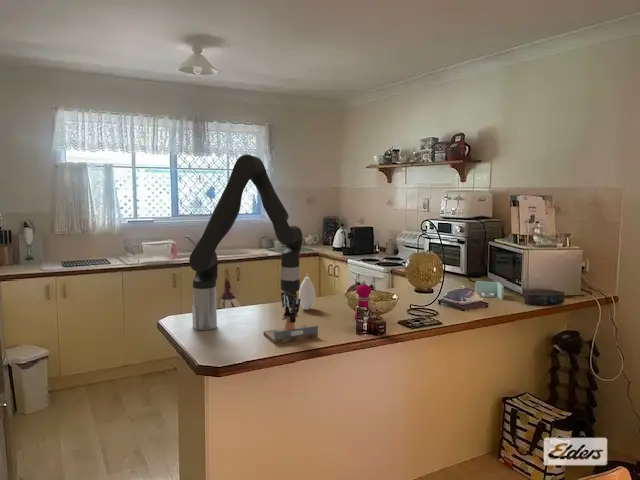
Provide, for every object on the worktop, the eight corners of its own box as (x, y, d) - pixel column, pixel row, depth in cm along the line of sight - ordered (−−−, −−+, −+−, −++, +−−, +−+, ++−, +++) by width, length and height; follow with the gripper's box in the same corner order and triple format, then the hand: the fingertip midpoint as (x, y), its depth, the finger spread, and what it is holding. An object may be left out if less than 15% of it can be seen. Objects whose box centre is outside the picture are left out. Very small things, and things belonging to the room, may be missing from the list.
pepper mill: (353, 325, 204) (353, 279, 202) (370, 325, 205) (370, 278, 202) (355, 331, 197) (356, 282, 194) (373, 330, 197) (374, 282, 195)
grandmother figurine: (287, 334, 186) (288, 302, 185) (280, 333, 188) (281, 300, 187) (300, 331, 192) (301, 299, 191) (292, 329, 194) (293, 298, 194)
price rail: (274, 340, 181) (274, 332, 180) (274, 339, 181) (274, 331, 181) (318, 333, 189) (318, 326, 188) (317, 333, 189) (317, 325, 189)
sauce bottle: (315, 311, 226) (315, 273, 224) (298, 311, 226) (298, 273, 224) (315, 307, 234) (315, 270, 231) (299, 307, 234) (299, 270, 232)
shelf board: (274, 344, 181) (274, 340, 181) (263, 334, 191) (263, 331, 191) (317, 337, 189) (317, 333, 189) (304, 328, 200) (304, 325, 199)
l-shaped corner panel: (475, 294, 264) (475, 281, 263) (498, 295, 262) (498, 282, 261) (478, 300, 252) (479, 285, 251) (503, 301, 250) (503, 286, 249)
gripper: (274, 275, 192) (274, 317, 194) (288, 282, 179) (288, 327, 182) (291, 273, 195) (291, 315, 198) (306, 280, 183) (306, 324, 185)
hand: (290, 320), depth 190 cm, fingers open, 4 cm apart
